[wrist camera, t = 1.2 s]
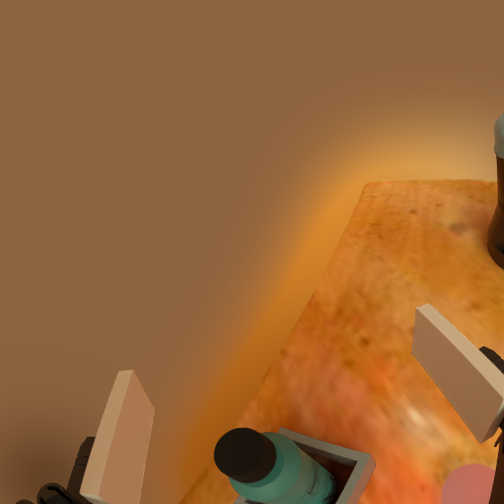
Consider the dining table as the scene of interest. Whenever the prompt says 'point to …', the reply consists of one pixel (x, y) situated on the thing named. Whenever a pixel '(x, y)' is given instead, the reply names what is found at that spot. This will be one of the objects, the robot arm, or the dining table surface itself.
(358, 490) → the bottle holder
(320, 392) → the dining table surface
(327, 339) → the dining table surface
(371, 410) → the dining table surface
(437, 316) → the robot arm
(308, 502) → the beverage bottle
